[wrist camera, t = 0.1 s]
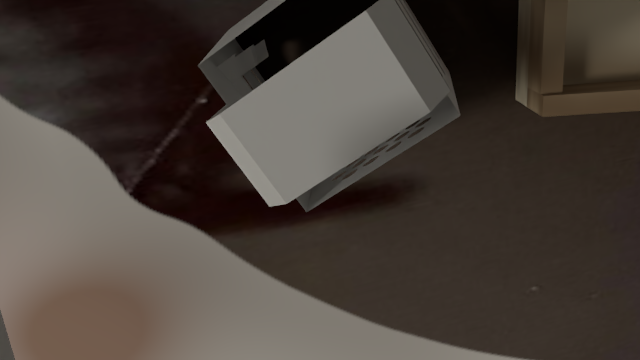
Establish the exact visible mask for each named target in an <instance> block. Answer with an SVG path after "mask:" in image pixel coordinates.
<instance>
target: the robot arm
mask: <svg viewBox="0 0 640 360" xmlns="http://www.w3.org/2000/svg"><path fill="white" fill-rule="evenodd" d="M0 360H15V358H14V355H13V351H12V348H11V345H10V341H9V338H8V334H7V332H6V328H5V324H4V321H3V318H2V315H1V311H0Z"/></svg>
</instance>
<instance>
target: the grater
mask: <svg viewBox="0 0 640 360" xmlns="http://www.w3.org/2000/svg"><path fill="white" fill-rule="evenodd" d="M284 1H285V0H268V1H267V2H265V3H264V4H263V5H261V6H260V7H259V8H257V9H256V10H255V11H253V12H252V13H251V14H249V15H248V16H247V17H245V18H244V19H243V20H241V21H240V22H239V23H237V24H236V25H235V26H233V27H232V28H231V29H229V30H228V31H227V32H226V34H225V35H224V36H223V37H222V38H221V39H220V41H219V42H218V43H217V44H216V45H215V46H214V47H213V49H212V50H211V51H210V52H209V53H208V54H207V56H206V57H205V58H204V59H203V60H202V61H201V63H200V64H199V65H198V66H199V68H200V69H201V70H202V72H203V73H204V74H205V76H206V77H207V79H208V80H209V81H210V83H211V84H212V85H213V87H214V88H215V89H216V91H217V92H218V93H219V95H220V96H221V97H222V99H223V100H224V101H225V103H226V104H227V105H225V106H224V107H223V108H222V109H221V110H220V111H218V112H217V113H216V114H215V115H214V116H213V117H212V118H210V119H209V120H208V121H207V122H206V124H207V125H208V126H209V128H210V129H211V130H212V132H213V133H214V134H215V135H216V137H217V138H218V139H219V141H220V142H221V143H222V145H223V146H224V147H225V149H226V150H227V151H228V153H229V154H230V155H231V157H232V158H233V159H234V160H235V162H236V163H237V164H238V166H239V167H240V168H241V170H242V171H243V172H244V174H245V175H246V176H247V178H248V179H249V180H250V182H251V183H252V184H253V186H254V187H255V188H256V189H257V191H258V192H259V193H260V195H261V196H262V197H263V199H264V200H265V201H266V203H267V204H268V205H269V207H270V206H276V205H283V204H287V203H289V202H290V201H292V200H293V199H295V198H296V199H297V200H298V201H299V203H300V204H301V205H302V207H303V208H304V209H305V211H306V212H308V211H309V210H311V209H312V208H314V207H316V206H317V205H319V204H320V203H322V202H324V201H325V200H327V199H328V198H330V197H332V196H333V195H335V194H336V193H338V192H340V191H341V190H343V189H344V188H346V187H348V186H349V185H351V184H352V183H354V182H356V181H357V180H359V179H360V178H362V177H363V176H365V175H367V174H368V173H370V172H371V171H373V170H375V169H376V168H378V167H379V166H381V165H383V164H384V163H386V162H387V161H389V160H391V159H392V158H394V157H395V156H397V155H399V154H400V153H402V152H403V151H405V150H407V149H408V148H410V147H411V146H413V145H415V144H416V143H418V142H419V141H421V140H422V139H424V138H426V137H427V136H429V135H430V134H432V133H434V132H435V131H437V130H438V129H440V128H442V127H443V126H445V125H446V124H448V123H450V122H451V121H453V120H454V119H456V118H458V117H459V116H460V112H459V108H458V104H457V100H456V96H455V92H454V88H453V84H452V80H451V76H450V73H449V71H448V69H447V67H446V66H445V64H444V63H443V61H442V59H441V58H440V56H439V54H438V53H437V51H436V50H435V48H434V46H433V45H432V43H431V41H430V40H429V38H428V37H427V35H426V33H425V32H424V30H423V28H422V27H421V25H420V24H419V22H418V20H417V19H416V17H415V15H414V14H413V12H412V11H411V9H410V7H409V6H408V4H407V2H406V1H405V0H404V1H403V0H396V1H395V0H379V1H377V2H376V3H375V4H373V5H372V6H371V7H369V8H368V9H367V10H366V11H364V12H363V13H361V14H360V15H359V16H357V17H356V18H354V19H353V20H351V21H350V22H349V23H347V24H346V25H344V26H343V27H342V28H340V29H339V30H337V31H336V32H335V33H333V34H332V35H330V36H329V37H327V38H326V39H325V40H323V41H322V42H320V43H319V44H318V45H316V46H315V47H313V48H312V49H311V50H309V51H308V52H306V53H305V54H303V55H302V56H301V57H299V58H298V59H296V60H295V61H294V62H292V63H291V64H289V65H288V66H287V67H285V68H284V69H282V70H281V71H280V72H278V73H277V74H275V75H274V76H272V77H271V78H270V79H268V80H267V81H265V80H264V79H263V77H262V76H261V75H260V73H259V72H258V70H257V69H256V68H255V66H256V65H258V64H259V63H260V62H262V61H263V60H264V59H266V58H267V57H269V55H268V52H267V48H266V44H265V40H262V41H261V42H260V43H258V44H257V45H256V46H254V44H253V45H251V46H250V47H248V48H247V49H246V50H244V51H243V49H242V48H241V47H240V45H239V44H238V42H237V41H236V40H235V38H236V37H237V36H238V35H240V34H241V33H242V32H244V31H245V30H246V29H248V28H249V27H250V26H252V25H253V24H254V23H256V22H257V21H258V20H260V19H261V18H263V17H264V16H265V15H267V14H268V13H269V12H271V11H272V10H273V9H275V8H276V7H277V6H279V5H280V4H281V3H283V2H284ZM400 1H401V2H400ZM396 2H397V3H398V5H399V6H400V8H401V9H400V8H399V6H398V5H397V3H396ZM401 3H402V4H403V5H402V4H401ZM405 3H406V4H405ZM406 5H407V6H408V7H407V6H406ZM403 6H404V7H403ZM404 8H405V9H406V10H405V9H404ZM408 8H409V9H408ZM401 10H402V11H403V13H404V14H403V13H402V11H401ZM409 10H410V11H411V12H410V11H409ZM406 11H407V12H408V13H407V12H406ZM411 13H412V14H411ZM408 14H409V15H408ZM404 15H405V16H406V18H407V19H408V21H409V22H408V21H407V19H406V18H405V16H404ZM409 16H410V17H411V18H410V17H409ZM413 16H414V17H413ZM414 18H415V19H416V20H415V19H414ZM411 19H412V20H413V22H414V23H413V22H412V20H411ZM416 21H417V22H416ZM409 23H410V24H411V26H412V27H413V29H414V30H413V29H412V27H411V26H410V24H409ZM414 24H415V25H416V26H415V25H414ZM418 24H419V25H418ZM419 26H420V27H419ZM416 27H417V28H416ZM417 29H418V30H419V31H418V30H417ZM421 29H422V30H421ZM414 31H415V32H416V34H417V35H418V37H419V38H418V37H417V35H416V34H415V32H414ZM422 31H423V32H424V33H423V32H422ZM419 32H420V33H421V34H420V33H419ZM424 34H425V35H424ZM421 35H422V36H421ZM422 37H423V38H424V39H423V38H422ZM426 37H427V38H426ZM419 39H420V40H421V42H422V43H421V42H420V40H419ZM427 39H428V40H427ZM424 40H425V41H424ZM425 42H426V43H427V44H426V43H425ZM429 42H430V43H429ZM422 44H423V45H424V47H425V48H426V50H427V51H426V50H425V48H424V47H423V45H422ZM430 44H431V45H432V46H431V45H430ZM427 45H428V46H429V47H428V46H427ZM432 47H433V48H432ZM429 48H430V49H429ZM433 49H434V50H433ZM430 50H431V51H432V52H431V51H430ZM427 52H428V53H429V55H430V56H431V58H432V59H431V58H430V56H429V55H428V53H427ZM435 52H436V53H435ZM432 53H433V54H434V55H433V54H432ZM436 54H437V55H436ZM434 56H435V57H434ZM437 56H438V57H439V58H438V57H437ZM435 58H436V59H437V61H438V62H437V61H436V59H435ZM432 60H433V61H434V63H435V64H434V63H433V61H432ZM438 63H439V64H440V66H441V67H440V66H439V64H438ZM435 65H436V66H437V67H436V66H435ZM437 68H438V69H439V71H440V72H439V71H438V69H437ZM441 68H442V69H441ZM251 69H252V70H253V72H254V73H255V75H256V76H257V77H258V79H259V80H260V82H261V83H262V84H260V82H259V81H258V80H257V78H256V77H255V76H254V74H253V73H252V71H251ZM442 70H443V71H444V73H445V74H444V73H443V71H442ZM440 73H441V74H442V76H443V77H442V76H441V74H440ZM242 75H244V76H245V78H246V79H247V81H248V82H249V83H250V85H251V86H252V88H253V89H254V90H253V91H252V89H251V88H250V86H249V85H248V84H247V82H246V81H245V79H244V78H243V77H242ZM430 117H431V119H430V120H429V121H428V122H426V123H425V124H423V125H421V126H420V127H417V128H415V127H416V126H417V125H418V124H419V123H421V122H422V121H424V120H426V119H428V118H430ZM418 120H420V121H419V122H418V123H417V124H416V125H414V126H412V127H411V128H409V129H407V130H405V129H406V128H407V127H408V126H409V125H411V124H413V123H414V122H416V121H418ZM422 127H424V129H423V130H422V131H421V132H419V133H418V134H416V135H415V136H413V137H411V138H408V136H409V135H411V134H412V133H413V132H415V131H416V130H418V129H420V128H422ZM407 131H410V132H409V133H408V134H407V135H405V136H404V137H403V138H401V139H399V140H397V141H395V142H394V140H395V139H396V138H397V137H399V136H400V135H402V134H404V133H405V132H407ZM399 132H400V134H399V135H398V136H397V137H395V138H394V139H392V140H390V141H389V142H386V141H387V140H388V139H389V138H391V137H392V136H394V135H395V134H397V133H399ZM400 141H402V142H401V144H399V145H398V146H397V147H396V148H394V149H392V150H391V151H389V152H385V151H386V150H387V149H389V148H390V147H391V146H393V145H394V144H396V143H398V142H400ZM385 142H386V143H385ZM387 144H389V145H388V146H387V147H386V148H385V149H383V150H382V151H381V152H379V153H377V154H375V155H373V154H374V153H375V152H376V151H377V150H378V149H380V148H381V147H383V146H385V145H387ZM377 146H379V147H378V148H377V149H376V150H375V151H373V152H372V153H370V154H368V155H366V156H364V155H365V154H366V153H367V152H369V151H370V150H372V149H373V148H375V147H377ZM376 156H379V157H378V158H377V159H376V160H375V161H373V162H372V163H370V164H369V165H367V166H364V167H362V166H363V165H364V164H365V163H366V162H368V161H369V160H371V159H372V158H374V157H376ZM358 158H360V159H359V160H358V161H357V162H356V163H358V162H359V161H361V160H363V159H365V158H367V159H366V160H365V161H364V162H363V163H361V164H360V165H358V166H357V167H355V168H352V167H353V166H354V165H355V164H356V163H354V164H353V165H351V166H349V167H347V168H345V167H346V166H347V165H348V164H350V163H351V162H353V161H355V160H356V159H358ZM356 169H358V170H357V171H356V172H355V173H354V174H353V175H351V176H350V177H348V178H346V179H344V180H342V178H343V177H345V176H346V175H347V174H349V173H350V172H352V171H354V170H356ZM344 171H347V172H346V173H345V174H344V175H342V176H341V177H339V178H338V179H336V180H334V181H332V180H333V179H334V178H335V177H336V176H338V175H339V174H340V173H342V172H344Z"/></svg>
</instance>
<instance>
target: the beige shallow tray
mask: <svg viewBox="0 0 640 360" xmlns="http://www.w3.org/2000/svg"><path fill="white" fill-rule="evenodd" d="M515 99H516V100H517V101H519V102H520V103H522V104H523V105H525V106H526V107H528V108H530V109H531V110H533V111H534V112H536V113H537V114H539V115H540V116H542V117H548V116H564V115H579V114H595V113H611V112H626V111H640V0H519V11H518V40H517V69H516V98H515Z"/></svg>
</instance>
